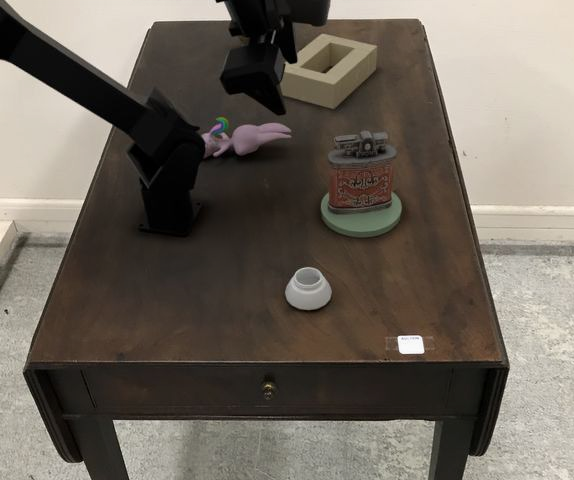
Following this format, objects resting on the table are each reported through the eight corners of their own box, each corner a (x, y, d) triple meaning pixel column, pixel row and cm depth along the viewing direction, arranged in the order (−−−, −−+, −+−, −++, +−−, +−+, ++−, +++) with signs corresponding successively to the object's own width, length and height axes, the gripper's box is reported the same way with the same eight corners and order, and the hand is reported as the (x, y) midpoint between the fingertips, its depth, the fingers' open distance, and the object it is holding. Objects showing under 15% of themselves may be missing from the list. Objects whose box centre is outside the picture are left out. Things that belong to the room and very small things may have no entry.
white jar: (315, 318, 74) (339, 291, 77) (315, 299, 72) (340, 271, 75) (277, 301, 77) (301, 275, 79) (275, 281, 74) (301, 255, 77)
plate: (395, 242, 83) (395, 236, 82) (312, 231, 85) (312, 225, 84) (406, 193, 89) (406, 186, 89) (329, 184, 91) (329, 178, 91)
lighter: (388, 193, 88) (394, 122, 80) (395, 210, 85) (401, 138, 78) (325, 201, 87) (325, 130, 80) (330, 217, 85) (330, 146, 78)
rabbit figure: (187, 175, 96) (293, 157, 94) (173, 137, 92) (284, 118, 90) (192, 150, 101) (293, 132, 98) (179, 113, 96) (285, 94, 94)
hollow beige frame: (333, 109, 104) (334, 84, 102) (269, 91, 109) (268, 67, 106) (375, 70, 112) (377, 45, 110) (314, 55, 117) (314, 31, 114)
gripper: (299, 4, 63) (344, 133, 75) (325, -104, 73) (361, 26, 85) (191, 28, 67) (250, 147, 79) (229, -77, 77) (276, 43, 89)
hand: (288, 87), depth 83 cm, fingers open, 9 cm apart
